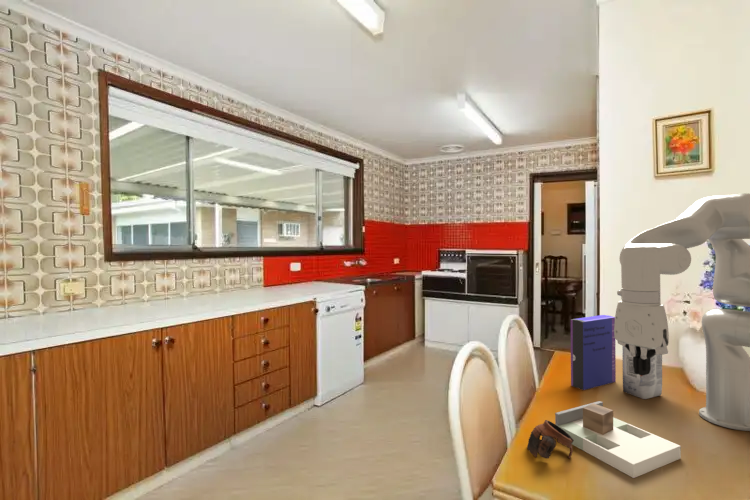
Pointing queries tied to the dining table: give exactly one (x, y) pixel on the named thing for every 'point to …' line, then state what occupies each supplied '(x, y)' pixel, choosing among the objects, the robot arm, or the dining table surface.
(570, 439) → the brown curved piece
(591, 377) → the blue rectangular box
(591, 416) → the block
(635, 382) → the juice carton
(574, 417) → the tray
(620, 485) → the dining table surface
